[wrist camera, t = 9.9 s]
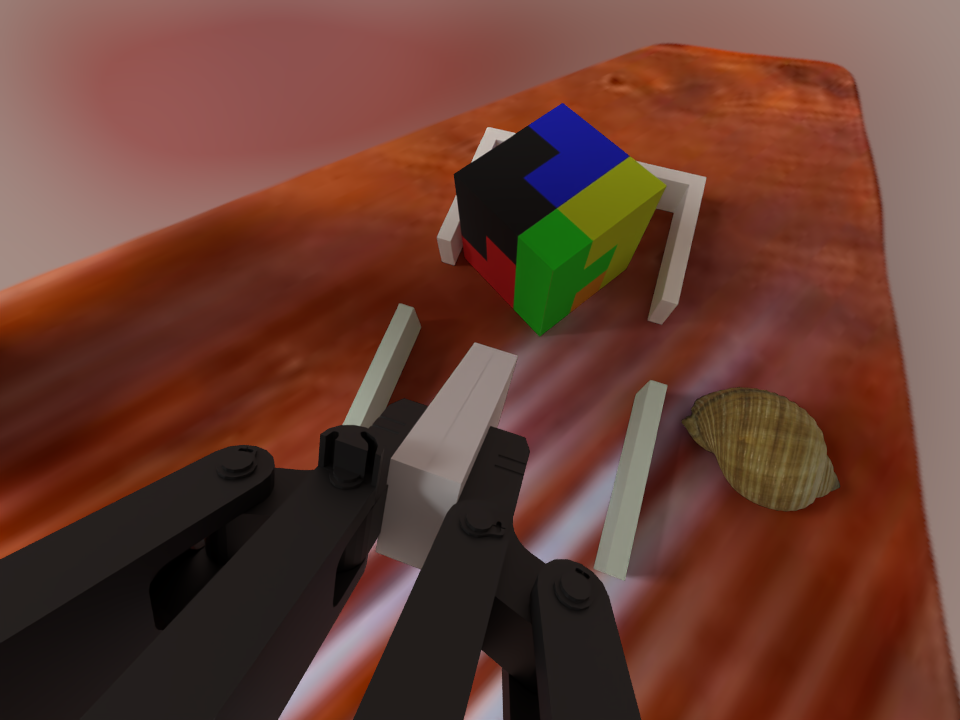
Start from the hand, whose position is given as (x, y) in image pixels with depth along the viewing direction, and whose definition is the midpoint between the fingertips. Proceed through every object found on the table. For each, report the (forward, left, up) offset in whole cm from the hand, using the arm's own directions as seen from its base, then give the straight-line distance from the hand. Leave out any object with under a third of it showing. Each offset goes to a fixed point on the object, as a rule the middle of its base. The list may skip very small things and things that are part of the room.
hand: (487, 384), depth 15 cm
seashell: (+17, +7, -19) cm, 27 cm away
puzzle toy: (-1, +18, -19) cm, 26 cm away
